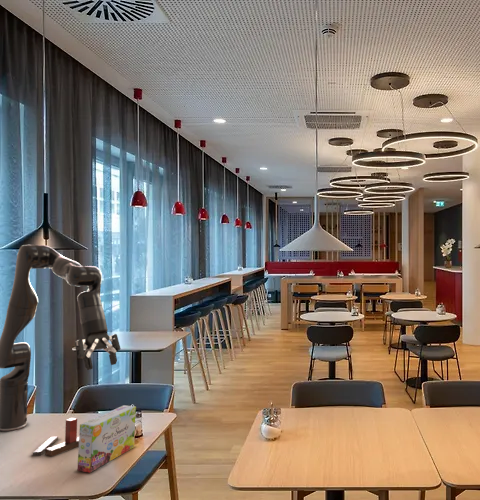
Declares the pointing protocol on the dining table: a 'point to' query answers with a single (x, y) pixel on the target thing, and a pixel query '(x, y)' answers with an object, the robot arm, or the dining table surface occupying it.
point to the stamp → (66, 439)
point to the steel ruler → (45, 446)
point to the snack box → (106, 438)
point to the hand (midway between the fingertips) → (102, 366)
